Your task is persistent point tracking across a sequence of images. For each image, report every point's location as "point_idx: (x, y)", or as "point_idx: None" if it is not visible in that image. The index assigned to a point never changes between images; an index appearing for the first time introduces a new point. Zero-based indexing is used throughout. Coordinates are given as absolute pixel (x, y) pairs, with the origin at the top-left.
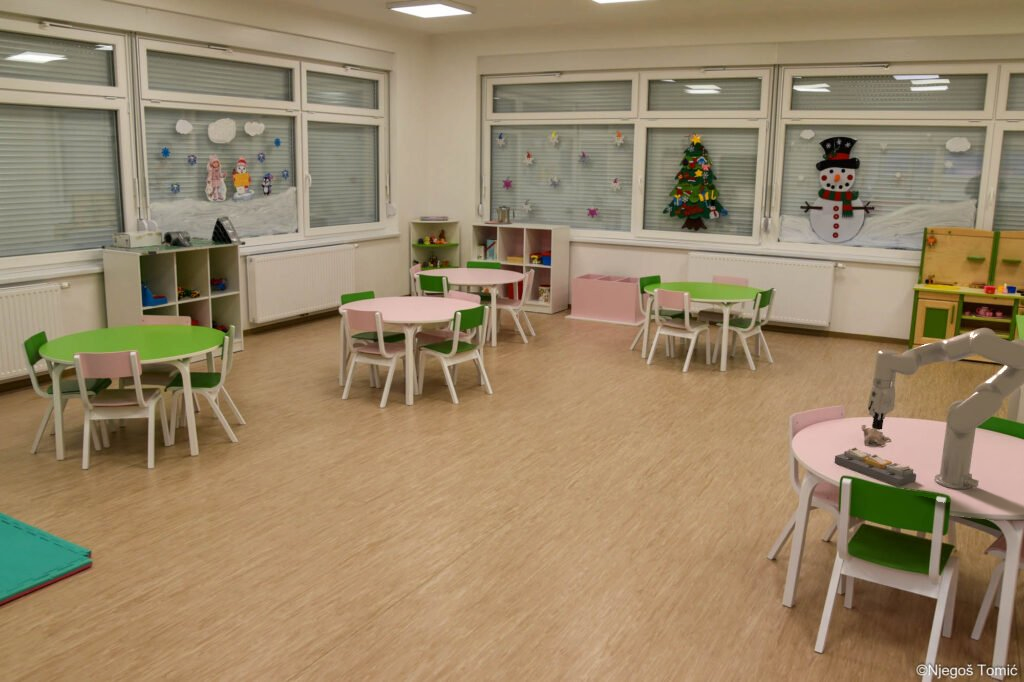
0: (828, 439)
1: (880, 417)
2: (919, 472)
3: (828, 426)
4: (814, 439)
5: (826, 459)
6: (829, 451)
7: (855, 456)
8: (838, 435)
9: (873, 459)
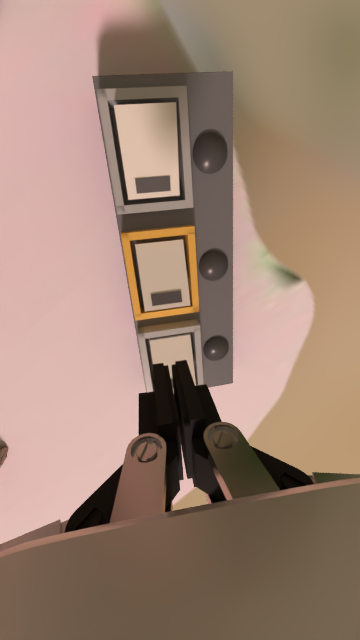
0: None
1: (216, 449)
2: None
3: None
4: None
5: (220, 395)
6: None
7: (200, 345)
8: (34, 517)
9: (187, 280)
